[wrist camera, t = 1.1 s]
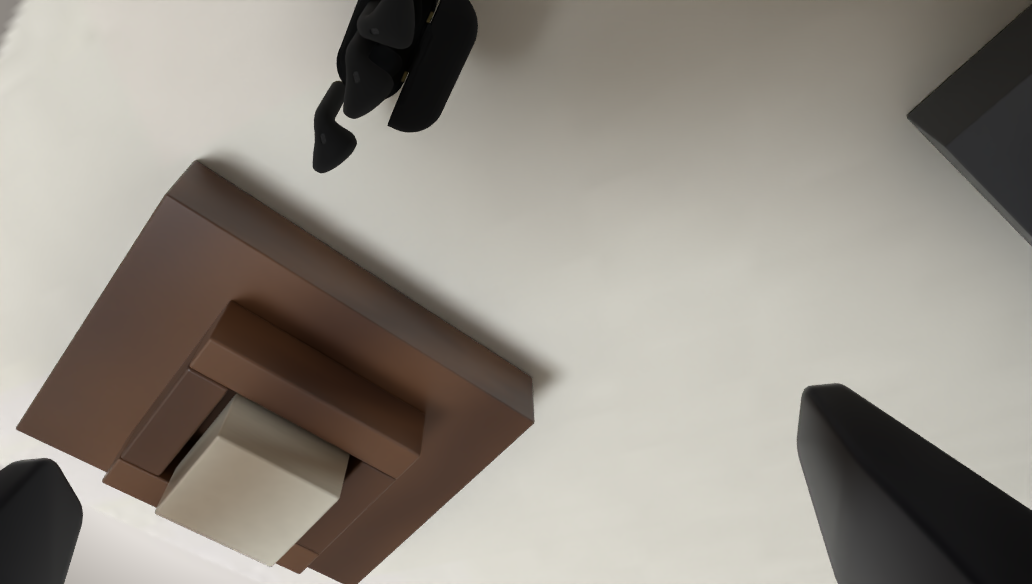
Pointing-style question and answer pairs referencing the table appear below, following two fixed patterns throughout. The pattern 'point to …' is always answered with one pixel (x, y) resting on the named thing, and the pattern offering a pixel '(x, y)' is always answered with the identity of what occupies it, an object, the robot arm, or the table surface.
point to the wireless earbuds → (394, 68)
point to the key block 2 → (989, 122)
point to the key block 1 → (278, 371)
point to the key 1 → (254, 482)
